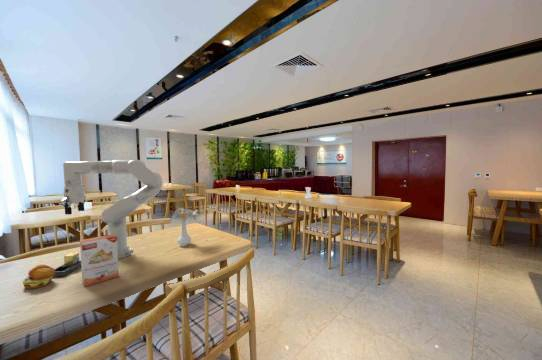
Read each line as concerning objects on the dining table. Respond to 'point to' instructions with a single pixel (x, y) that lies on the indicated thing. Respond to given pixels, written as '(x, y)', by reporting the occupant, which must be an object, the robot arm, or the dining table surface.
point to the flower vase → (184, 225)
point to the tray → (66, 269)
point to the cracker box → (99, 259)
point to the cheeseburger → (39, 276)
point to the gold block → (71, 259)
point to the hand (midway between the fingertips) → (75, 212)
